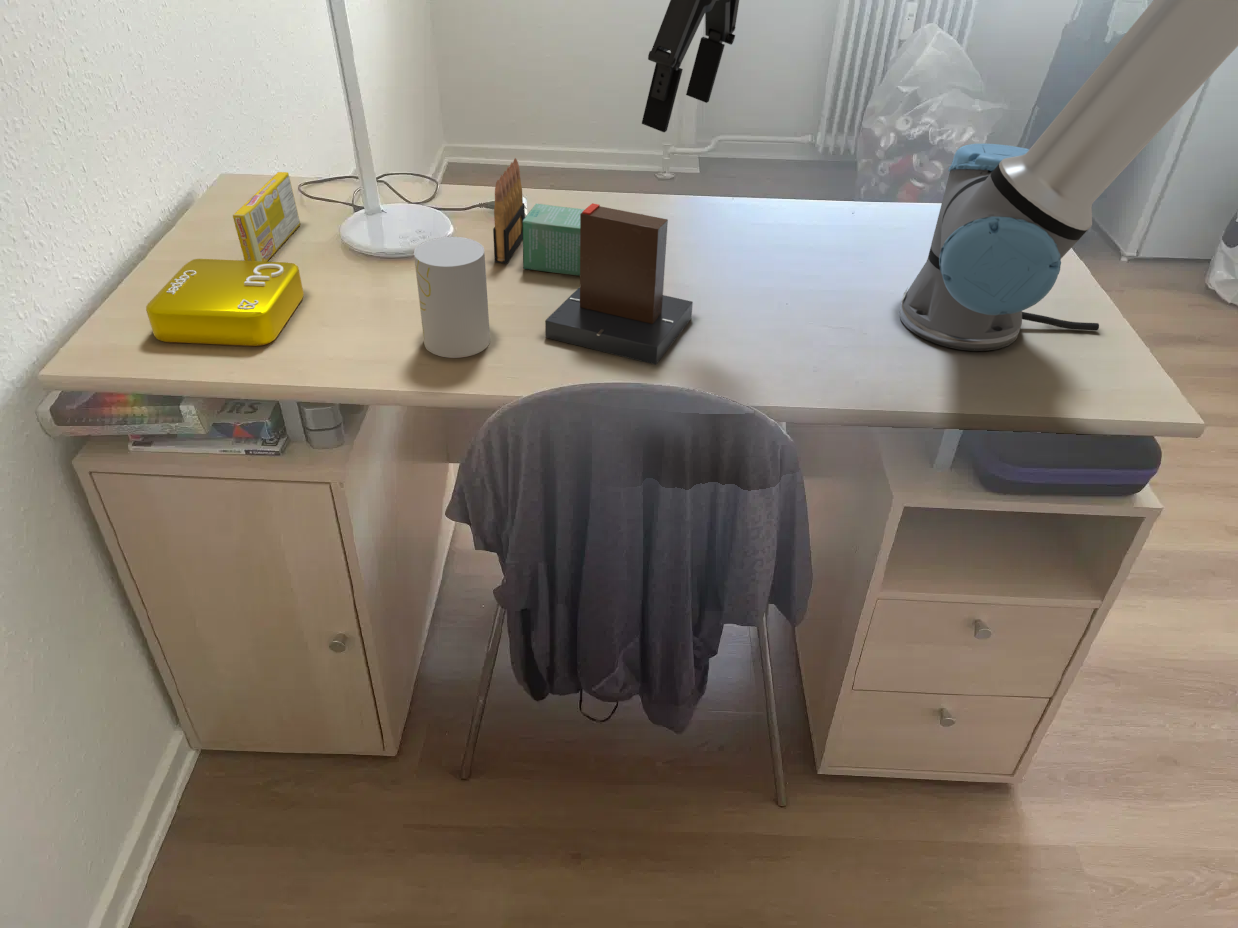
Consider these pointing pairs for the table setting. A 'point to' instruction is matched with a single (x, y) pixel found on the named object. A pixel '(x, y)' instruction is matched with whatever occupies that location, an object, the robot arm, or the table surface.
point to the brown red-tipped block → (622, 263)
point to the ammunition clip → (508, 214)
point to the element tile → (226, 302)
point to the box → (552, 239)
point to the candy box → (267, 219)
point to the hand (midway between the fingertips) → (676, 112)
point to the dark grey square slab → (619, 329)
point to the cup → (453, 296)
